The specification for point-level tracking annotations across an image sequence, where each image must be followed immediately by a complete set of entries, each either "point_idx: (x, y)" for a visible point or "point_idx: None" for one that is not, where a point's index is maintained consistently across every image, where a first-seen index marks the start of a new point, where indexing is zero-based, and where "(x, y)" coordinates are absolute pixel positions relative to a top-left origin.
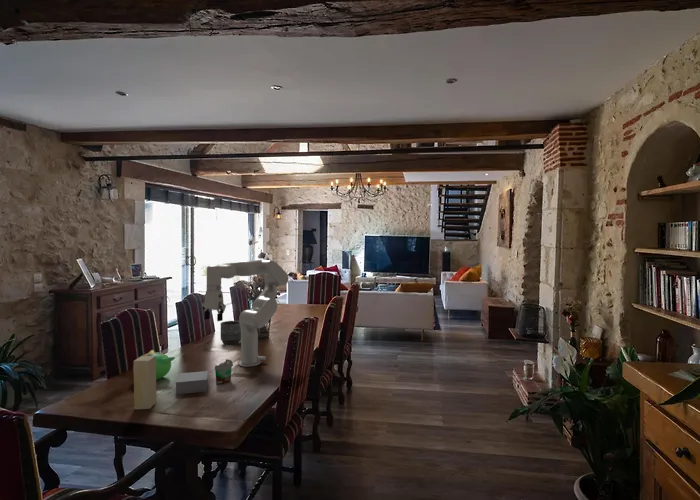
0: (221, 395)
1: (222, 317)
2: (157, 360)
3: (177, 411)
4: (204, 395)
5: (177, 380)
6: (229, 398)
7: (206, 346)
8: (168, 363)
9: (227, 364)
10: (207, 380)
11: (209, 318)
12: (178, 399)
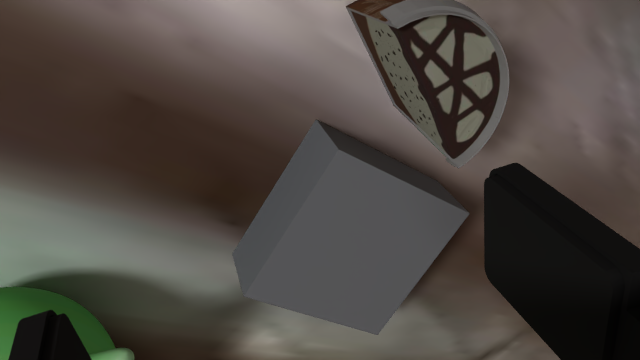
0: (532, 155)
1: (560, 195)
2: None
3: (508, 325)
4: (469, 210)
5: (357, 324)
6: (585, 145)
7: None
8: (89, 349)
9: (507, 90)
10: (427, 187)
11: (67, 321)
12: (417, 299)
